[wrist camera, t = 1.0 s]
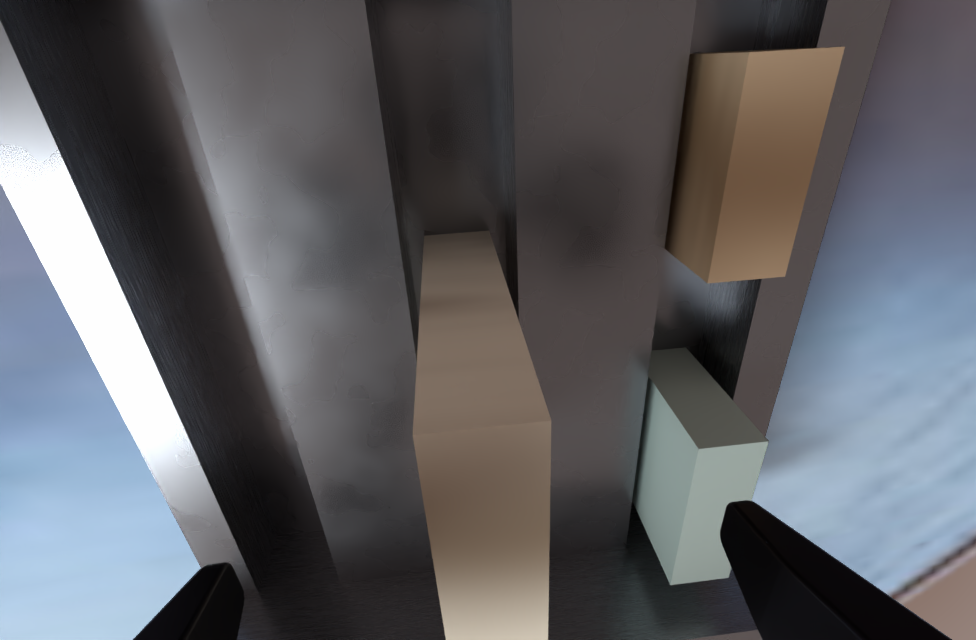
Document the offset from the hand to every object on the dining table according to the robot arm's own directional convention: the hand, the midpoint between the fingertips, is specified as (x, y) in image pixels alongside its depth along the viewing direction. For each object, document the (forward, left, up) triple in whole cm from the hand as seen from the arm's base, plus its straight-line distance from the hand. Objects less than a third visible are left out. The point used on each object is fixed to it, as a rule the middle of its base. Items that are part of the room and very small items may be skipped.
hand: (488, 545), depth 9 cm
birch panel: (0, 0, -9) cm, 9 cm away
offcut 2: (-5, -7, -9) cm, 12 cm away
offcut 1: (+5, -7, -9) cm, 12 cm away
